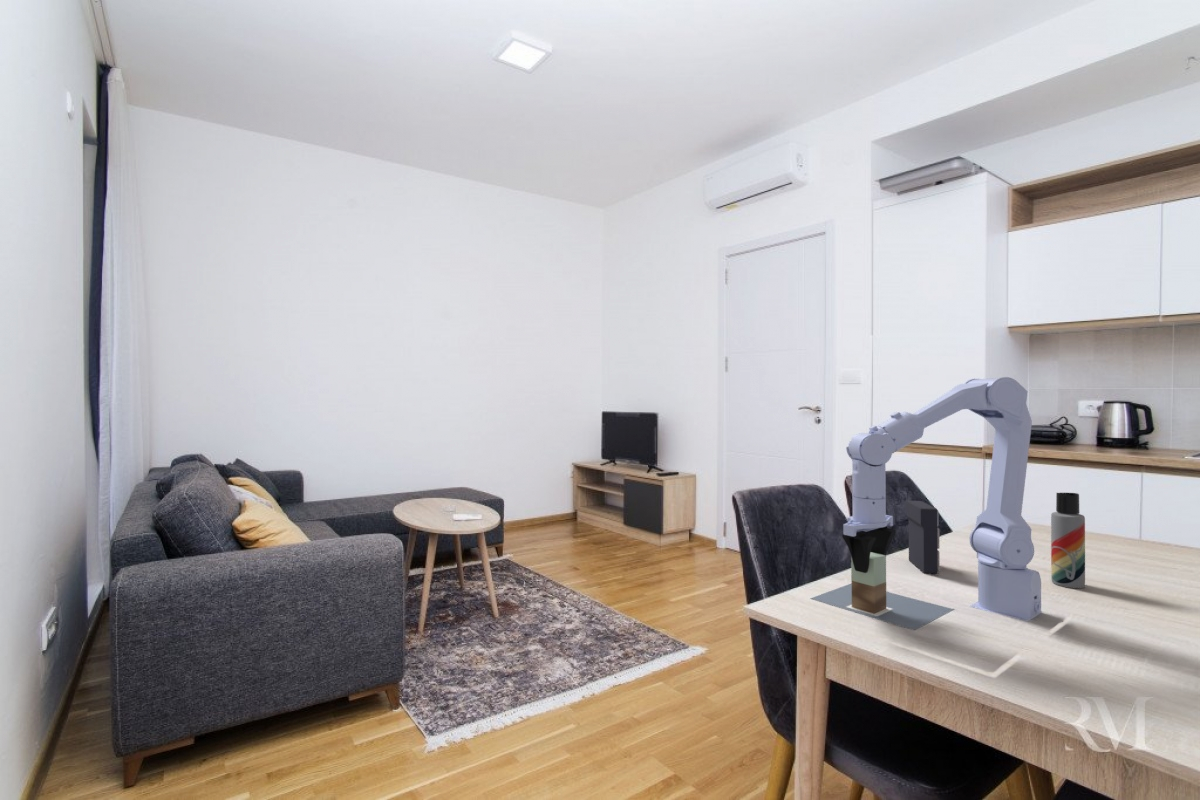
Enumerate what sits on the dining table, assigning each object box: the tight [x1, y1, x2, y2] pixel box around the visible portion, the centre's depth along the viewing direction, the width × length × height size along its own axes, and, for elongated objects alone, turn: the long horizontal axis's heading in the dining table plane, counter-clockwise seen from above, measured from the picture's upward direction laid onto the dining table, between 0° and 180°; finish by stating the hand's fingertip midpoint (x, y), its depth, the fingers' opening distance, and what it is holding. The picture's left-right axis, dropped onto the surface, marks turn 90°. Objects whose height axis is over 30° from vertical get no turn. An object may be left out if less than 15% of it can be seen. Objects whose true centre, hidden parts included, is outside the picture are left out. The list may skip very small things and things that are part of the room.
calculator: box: [905, 500, 941, 575], centre depth 138 cm, size 11×4×15 cm, turn 168°
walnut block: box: [851, 581, 887, 614], centre depth 110 cm, size 4×4×5 cm
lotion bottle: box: [1050, 492, 1086, 589], centre depth 125 cm, size 6×6×20 cm
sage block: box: [850, 552, 887, 586], centre depth 110 cm, size 4×4×5 cm
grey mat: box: [809, 582, 955, 631], centre depth 112 cm, size 20×16×1 cm
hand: (869, 568), depth 110 cm, fingers open, 5 cm apart
